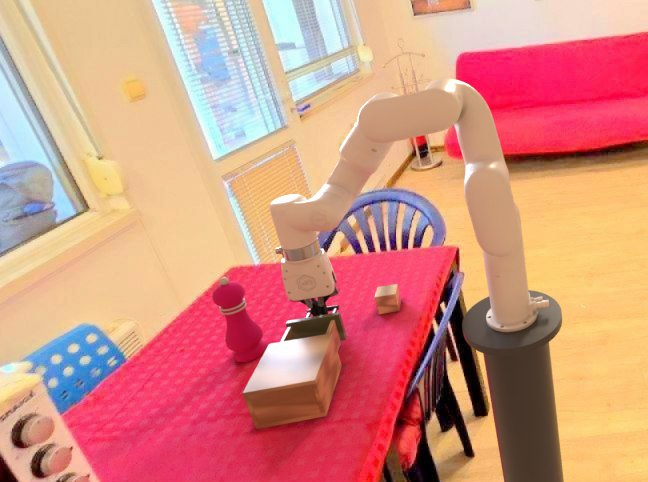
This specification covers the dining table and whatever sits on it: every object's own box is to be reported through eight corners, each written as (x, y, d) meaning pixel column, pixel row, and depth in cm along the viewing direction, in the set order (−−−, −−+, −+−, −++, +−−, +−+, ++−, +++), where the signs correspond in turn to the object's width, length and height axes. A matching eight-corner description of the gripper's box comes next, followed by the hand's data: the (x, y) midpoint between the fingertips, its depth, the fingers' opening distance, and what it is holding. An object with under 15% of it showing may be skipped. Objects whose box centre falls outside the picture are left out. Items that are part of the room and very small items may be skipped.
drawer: (303, 327, 126) (296, 303, 123) (352, 319, 127) (346, 295, 125) (276, 386, 107) (266, 359, 104) (334, 375, 108) (326, 348, 106)
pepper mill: (225, 360, 117) (195, 284, 110) (252, 341, 124) (226, 267, 116) (247, 366, 115) (218, 288, 107) (275, 346, 121) (249, 271, 114)
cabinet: (280, 377, 111) (269, 343, 108) (342, 366, 112) (332, 332, 109) (255, 429, 97) (242, 393, 94) (326, 416, 99) (315, 380, 96)
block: (401, 300, 135) (397, 283, 133) (399, 311, 131) (395, 293, 129) (381, 303, 135) (377, 286, 133) (378, 314, 130) (374, 297, 128)
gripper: (260, 262, 112) (283, 333, 118) (333, 252, 114) (351, 322, 120) (271, 247, 118) (293, 315, 125) (340, 237, 121) (357, 304, 127)
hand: (321, 318), depth 123 cm, fingers closed
